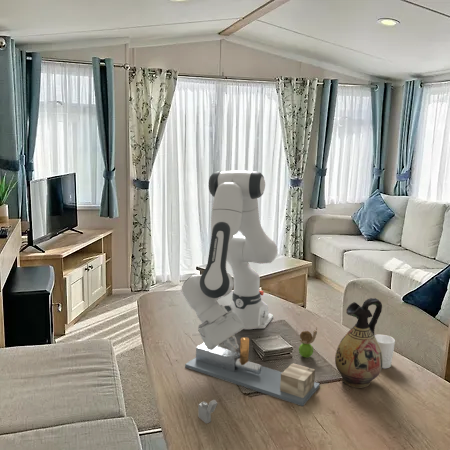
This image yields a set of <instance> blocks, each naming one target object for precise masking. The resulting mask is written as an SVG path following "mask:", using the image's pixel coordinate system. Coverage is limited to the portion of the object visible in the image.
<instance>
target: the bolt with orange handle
mask: <svg viewBox="0 0 450 450" xmlns="http://www.w3.org/2000/svg"><path fill="white" fill-rule="evenodd" d="M249 351H250V338H249V337H247V336H243V337H240V343H239V353H240V358H237V359H235V367H237V368H240V369H243V370H246V371H249V372H253V373H256V374H260V372H261V369H262V366H263V365H261V364H259V363H256V362H252V361H250V360H249V358H250V357H249V354H250V352H249Z"/></svg>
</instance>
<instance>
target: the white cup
mask: <svg viewBox="0 0 450 450" xmlns="http://www.w3.org/2000/svg"><path fill="white" fill-rule="evenodd" d="M374 336H375V338H376V340H377V342H378V344H379V346H380V349H381V352H382V359H383V364H382V369H388V368H389V369H390V367H392V361H393V356H394V351H395V350H394V349H395V343H396V340H395V338H394V337H392V336H391V335H386V334H382V333H381V334H380V333H379V334H374Z"/></svg>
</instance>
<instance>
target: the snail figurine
mask: <svg viewBox="0 0 450 450" xmlns="http://www.w3.org/2000/svg"><path fill="white" fill-rule="evenodd" d="M317 333H318V327H316V328H315V330H314V331H313V332H311V331H308V330H303V331H301V332H300V334H299V338H300V339H299V342H300V343H301V344H300V345H299V347H298V353H299V355H300V356H301V357H302V358H306V359H308V358H311V356H313V354H314V347H313V346H312V345H311V344H312V343H313V342H314V341H315V340H316V337H317Z"/></svg>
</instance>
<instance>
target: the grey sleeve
mask: <svg viewBox="0 0 450 450" xmlns="http://www.w3.org/2000/svg"><path fill="white" fill-rule="evenodd" d="M195 350H196V351H195V357H196V361H200V362H203V363H206V364H209V365H212V366H215V367H218V368H222V369H225V370H228V371H231V372H235V371H236V370H238V369H239V368H237V367H235V359H237V358H240V352H239V351H238V352H237V351H236V350H235V351H234V352H232V351H231V350H230V349H229V348H228V349H227V348H224V347H221V346H217V347H216V348H214V349H213V350H209V349H208V348H207V347H206V345H205V343H204V342H203V343H201V344H199V345H197V346H196V348H195Z"/></svg>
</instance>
